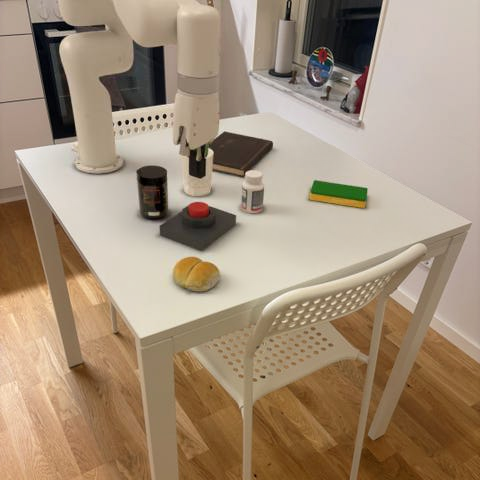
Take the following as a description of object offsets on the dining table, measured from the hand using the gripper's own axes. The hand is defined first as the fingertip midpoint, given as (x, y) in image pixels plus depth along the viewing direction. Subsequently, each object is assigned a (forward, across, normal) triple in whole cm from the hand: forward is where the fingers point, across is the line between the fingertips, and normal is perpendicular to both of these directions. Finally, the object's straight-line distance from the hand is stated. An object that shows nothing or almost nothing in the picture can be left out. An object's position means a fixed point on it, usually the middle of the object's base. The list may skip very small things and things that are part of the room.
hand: (197, 175), depth 107 cm
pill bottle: (+13, -16, +5) cm, 21 cm away
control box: (+13, 0, +1) cm, 13 cm away
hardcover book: (+13, -40, -15) cm, 44 cm away
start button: (+9, 0, +1) cm, 9 cm away
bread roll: (+13, +16, +11) cm, 23 cm away
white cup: (+13, -16, -11) cm, 23 cm away
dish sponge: (+13, -34, +20) cm, 41 cm away
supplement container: (+13, 0, -12) cm, 17 cm away
